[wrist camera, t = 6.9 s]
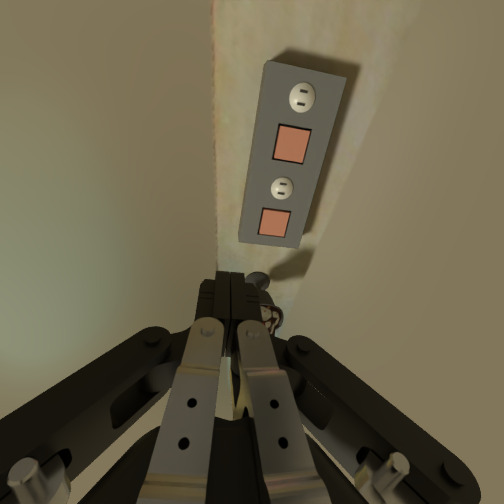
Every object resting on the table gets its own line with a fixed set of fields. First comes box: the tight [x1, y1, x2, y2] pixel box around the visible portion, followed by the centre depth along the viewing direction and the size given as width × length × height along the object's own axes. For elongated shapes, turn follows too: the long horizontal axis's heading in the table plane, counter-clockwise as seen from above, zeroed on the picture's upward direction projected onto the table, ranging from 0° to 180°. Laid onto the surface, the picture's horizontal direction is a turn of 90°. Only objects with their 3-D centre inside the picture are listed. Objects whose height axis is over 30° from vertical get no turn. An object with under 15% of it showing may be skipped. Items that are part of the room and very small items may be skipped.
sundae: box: [245, 272, 283, 336], centre depth 43 cm, size 7×7×15 cm
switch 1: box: [258, 207, 290, 237], centre depth 41 cm, size 4×4×2 cm
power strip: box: [238, 60, 347, 249], centre depth 38 cm, size 24×10×4 cm, turn 170°
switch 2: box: [272, 125, 310, 163], centre depth 35 cm, size 4×4×2 cm
